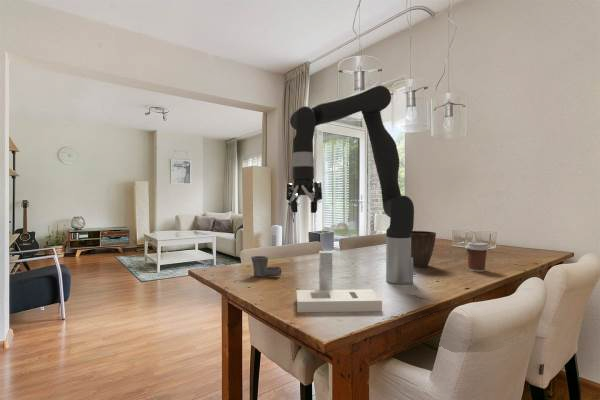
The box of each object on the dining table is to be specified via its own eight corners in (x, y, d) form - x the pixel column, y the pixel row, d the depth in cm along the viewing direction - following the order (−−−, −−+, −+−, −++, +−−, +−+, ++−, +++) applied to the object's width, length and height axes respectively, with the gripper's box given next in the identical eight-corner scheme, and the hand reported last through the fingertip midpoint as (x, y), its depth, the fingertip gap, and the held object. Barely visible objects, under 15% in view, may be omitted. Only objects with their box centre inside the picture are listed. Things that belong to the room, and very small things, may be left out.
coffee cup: (491, 272, 135) (491, 245, 135) (467, 271, 137) (467, 244, 137) (485, 268, 144) (485, 242, 144) (463, 267, 146) (463, 241, 146)
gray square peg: (330, 291, 108) (330, 250, 108) (332, 294, 104) (332, 252, 104) (319, 291, 108) (319, 250, 108) (320, 295, 104) (320, 252, 104)
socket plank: (371, 298, 100) (371, 289, 100) (382, 311, 89) (382, 300, 89) (296, 299, 99) (296, 290, 99) (297, 312, 88) (297, 301, 88)
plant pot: (396, 264, 152) (396, 231, 152) (417, 261, 160) (417, 230, 160) (421, 270, 139) (421, 234, 139) (443, 266, 147) (443, 232, 147)
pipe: (278, 279, 125) (278, 259, 125) (248, 277, 127) (248, 257, 127) (282, 275, 131) (282, 256, 131) (253, 273, 133) (253, 255, 133)
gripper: (326, 165, 107) (326, 212, 107) (294, 168, 117) (295, 211, 117) (312, 163, 102) (313, 213, 102) (281, 167, 111) (281, 212, 111)
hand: (303, 212), depth 109 cm, fingers open, 8 cm apart
